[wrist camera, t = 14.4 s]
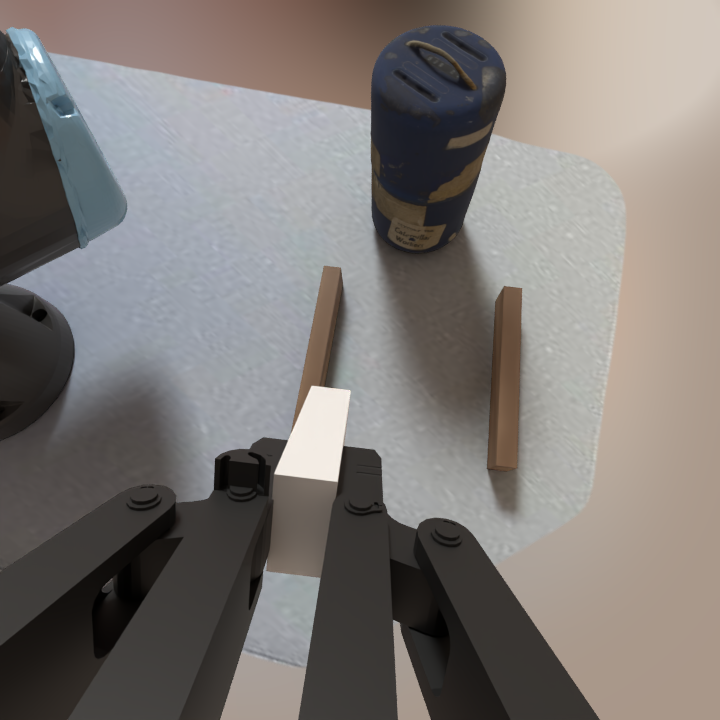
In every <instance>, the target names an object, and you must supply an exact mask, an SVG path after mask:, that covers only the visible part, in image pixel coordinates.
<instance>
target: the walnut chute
mask: <svg viewBox="0 0 720 720" xmlns="http://www.w3.org/2000/svg"><path fill="white" fill-rule="evenodd" d="M342 286H343V280H342V273H341V268H339V267H330V266H324V268H323V273H322V278H321V283H320V288H319V294H318V299H317V304H316V309H315V314H314V319H313V324H312V329H311V334H310V339H309V344H308V349H307V354H306V360H305V365H304V370H303V375H302V380H301V385H300V390H299V395H298V400H297V405H296V410H295V415H294V421H293V426H292V431H293V428H294V426H295V424H296V421H297V419H298V416H299V414H300V412H301V409H302V407H303V405H304V402H305V400H306V398H307V395H308V393H309V391H310V388H311V386H319V387H325V382H326V376H327V370H328V365H329V359H330V353H331V348H332V342H333V337H334V331H335V325H336V320H337V314H338V308H339V303H340V297H341V292H342ZM521 308H522V288H515V287H506V286H504V287H503V289H502V291H501V292H500V294H499V296H498V298H497V299H496V301H495V318H494V338H493V358H492V378H491V399H490V419H489V439H488V459H487V469H492V470H499V471H509V470H513V469H516V468H517V452H518V416H519V380H520V344H521ZM292 431H291V433H292Z"/></svg>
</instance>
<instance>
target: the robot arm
mask: <svg viewBox="0 0 720 720" xmlns="http://www.w3.org/2000/svg"><path fill="white" fill-rule="evenodd" d="M6 32H7V34H6V35H4V34H3V33H2V32H1V31H0V440H2V439H5V438H7V437H9V436H12V435H14V434H16V433H17V432H19V431H21V430H23V429H24V428H26V427H27V426H29V425H30V424H31V423H33V422H34V421H35V420H36V419H38V418H39V417H40V416H41V415H42V414H43V413H44V412H45V411H46V410H47V409H48V408H49V407H50V406H51V404H52V403H53V402H54V401H55V399H56V398H57V396H58V395H59V393H60V392H61V390H62V388H63V387H64V385H65V383H66V381H67V378H68V376H69V373H70V370H71V366H72V362H73V354H74V342H73V336H72V332H71V329H70V326H69V324H68V322H67V320H66V319H65V317H64V316H63V314H62V313H61V312H60V311H59V310H58V309H57V308H56V307H54V306H53V305H52V304H50V303H49V302H47V301H46V300H44V299H43V298H41V297H39V296H38V295H36V294H35V293H33V292H31V291H28V290H26V289H24V288H21V287H18V286H14V285H9V284H7V283H9V282H11V281H13V280H15V279H17V278H19V277H20V276H22V275H24V274H26V273H28V272H30V271H32V270H34V269H36V268H38V267H40V266H42V265H44V264H46V263H48V262H50V261H52V260H54V259H56V258H58V257H60V256H62V255H64V254H66V253H68V252H70V251H72V250H74V249H76V248H78V247H79V248H80V249H83V248H85V247H86V246H87V245H88V242H89V241H91V240H93V239H95V238H97V237H98V236H100V235H102V234H104V233H105V232H107V231H109V230H111V229H112V228H114V227H116V226H118V225H119V224H120V223H121V222H122V221H123V220H124V218H125V215H126V212H127V201H126V197H125V195H124V193H123V191H122V189H121V187H120V185H119V183H118V181H117V179H116V177H115V175H114V174H113V172H112V170H111V168H110V166H109V164H108V162H107V160H106V159H105V157H104V155H103V153H102V151H101V149H100V147H99V146H98V144H97V142H96V140H95V138H94V136H93V134H92V133H91V131H90V129H89V127H88V125H87V124H86V122H85V120H84V118H83V116H82V114H81V113H80V111H79V109H78V107H77V105H76V103H75V101H74V100H73V98H72V96H71V94H70V92H69V91H68V89H67V87H66V85H65V83H64V82H63V80H62V78H61V76H60V74H59V72H58V71H57V69H56V67H55V65H54V64H53V62H52V60H51V58H50V57H49V55H48V53H47V52H46V50H45V48H44V46H43V44H42V43H41V41H40V39H39V38H38V36H37V35H36V34H35V33H34V32H33V31H31V30H29V29H16V28H13V27H11V28H9V29H7V30H6ZM350 393H351V390H343V389H335V388H327V387H319V386H311V388H310V391H309V393H308V395H307V398H306V400H305V402H304V405H303V407H302V409H301V412H300V414H299V416H298V419H297V421H296V424H295V426H294V428H293V431H292V433H291V435H290V438H289V440H281V439H272V438H264V437H263V438H262V439H260V440H258V441H257V442H255V443H253V444H252V446H251V448H250V449H237V450H231V451H227V452H225V453H222V454H220V455H219V456H218V457H217V458H215V473H214V490H213V492H212V494H211V495H210V497H209V498H208V499H205V500H201V501H194V502H181V503H176V494H175V493H174V492H173V490H171V489H169V488H167V487H165V486H160V485H141V486H138V487H134V488H130V489H128V490H126V491H124V492H122V493H120V494H118V495H117V496H115V497H114V498H112V499H110V500H109V501H107V502H106V503H104V504H103V505H101V506H100V507H98V508H97V509H95V510H94V511H92V512H91V513H89V514H88V515H86V516H85V517H83V518H82V519H80V520H78V521H77V522H75V523H74V524H72V525H71V526H69V527H68V528H66V529H65V530H63V531H62V532H60V533H59V534H57V535H56V536H54V537H53V538H51V539H50V540H48V541H46V542H45V543H43V544H42V545H40V546H39V547H37V548H36V549H34V550H33V551H31V552H30V553H28V554H27V555H25V556H24V557H22V558H21V559H19V560H18V561H16V562H14V563H13V564H11V565H10V566H8V567H7V568H5V569H4V570H2V571H1V572H0V720H220V718H221V715H222V711H223V708H224V705H225V702H226V699H227V696H228V693H229V689H230V686H231V683H232V680H233V677H234V674H235V670H236V667H237V664H238V661H239V658H240V655H241V652H242V648H243V645H244V642H245V639H246V636H247V633H248V630H249V626H250V623H251V620H252V617H253V614H254V611H255V607H256V604H257V601H258V598H259V595H260V592H261V589H262V579H263V569H264V566H265V563H266V560H267V571H270V572H278V573H286V574H294V575H303V576H311V577H319V578H321V580H320V586H319V592H318V599H317V605H316V611H315V618H314V624H313V630H312V637H311V643H310V649H309V656H308V662H307V668H306V675H305V682H304V687H303V694H302V701H301V707H300V713H299V719H298V720H398V716H397V695H396V678H395V677H396V676H395V657H394V636H393V620H395V621H397V622H400V626H401V633H402V636H403V639H404V642H405V645H406V648H407V650H408V654H409V656H410V659H411V662H412V665H413V668H414V671H415V674H416V677H417V680H418V683H419V686H420V689H421V692H422V695H423V697H424V701H425V703H426V706H427V709H428V712H429V715H430V718H431V720H600V719H599V718H598V716H597V715H596V713H595V712H594V711H593V709H592V708H591V706H590V705H589V703H588V702H587V700H586V699H585V697H584V696H583V695H582V693H581V692H580V690H579V689H578V687H577V686H576V684H575V683H574V681H573V680H572V679H571V677H570V676H569V674H568V673H567V671H566V670H565V668H564V667H563V666H562V664H561V662H560V661H559V660H558V658H557V657H556V655H555V654H554V652H553V651H552V649H551V648H550V647H549V645H548V643H547V642H546V641H545V639H544V638H543V636H542V635H541V633H540V632H539V630H538V629H537V627H536V626H535V625H534V623H533V622H532V620H531V619H530V617H529V616H528V614H527V613H526V611H525V610H524V608H523V607H522V606H521V604H520V603H519V601H518V600H517V598H516V597H515V595H514V594H513V593H512V591H511V590H510V588H509V587H508V585H507V584H506V582H505V581H504V579H503V578H502V576H501V575H500V574H499V572H498V571H497V569H496V568H495V566H494V565H493V563H492V562H491V560H490V559H489V557H488V556H487V554H486V553H485V552H484V550H483V549H482V547H481V546H480V544H479V543H478V541H477V540H476V538H475V537H474V535H473V534H472V533H471V532H470V531H469V530H468V529H467V528H466V527H464V526H462V525H461V524H459V523H457V522H455V521H452V520H449V519H443V518H431V519H426V520H424V521H423V522H421V523H420V524H419V526H418V528H417V529H414V528H411V527H408V526H406V525H403V524H401V523H399V522H397V521H396V520H394V519H392V518H391V517H390V516H389V515H388V514H387V509H386V506H385V504H384V503H383V490H382V469H381V468H382V466H381V458H380V456H379V455H378V454H377V453H376V451H375V450H372V449H364V448H355V447H347V446H344V442H345V434H346V426H347V418H348V410H349V401H350ZM267 557H268V558H267ZM111 578H113V580H112V581H111V582H110V583H109V584H108V585H107V586H105V587H104V588H103V586H104V585H105V584H106V583H107V582H108V581H109V580H110V579H111Z"/></svg>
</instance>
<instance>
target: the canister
mask: <svg viewBox="0 0 720 720" xmlns="http://www.w3.org/2000/svg"><path fill="white" fill-rule="evenodd" d="M371 86H372V87H371V163H372V218H373V222H374V225H375V227H376V229H377V231H378V233H379V234H380V236H381V237H382V238H383V239H384V240H385V241H386V242H387V243H389V244H390V245H391V246H393V247H395V248H397V249H399V250H402V251H406V252H411V253H425V252H430V251H434V250H437V249H439V248H441V247H443V246H445V245H446V244H448V243H449V242H450V241H451V240H452V239H453V238H454V237H455V236H456V235H457V233H458V232H459V230H460V229H461V227H462V224H463V221H464V218H465V215H466V212H467V209H468V207H469V204H470V201H471V198H472V196H473V193H474V190H475V187H476V184H477V180H478V177H479V174H480V171H481V166H482V162H483V158H484V155H485V152H486V149H487V146H488V144H489V140H490V137H491V133H492V130H493V127H494V124H495V121H496V118H497V115H498V112H499V110H500V107H501V104H502V101H503V98H504V93H505V87H506V72H505V68H504V64H503V62H502V59H501V57H500V56H499V54H498V53H497V51H496V50H495V49H494V48H493V47H492V46H491V45H490V44H489V43H488V42H487V41H486V40H484V39H483V38H481V37H480V36H478V35H476V34H474V33H472V32H470V31H467V30H464V29H462V28H458V27H452V26H445V25H444V26H443V25H442V26H441V25H433V26H425V27H420V28H416V29H412V30H410V31H408V32H405V33H403V34H401V35H400V36H398V37H396V38H395V39H394V40H392V41H391V42H390V43H389V44H388V45H387V46H386V47H385V48H384V49H383V51H382V52H381V53H380V55H379V57H378V59H377V61H376V63H375V66H374V69H373V75H372V85H371Z"/></svg>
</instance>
